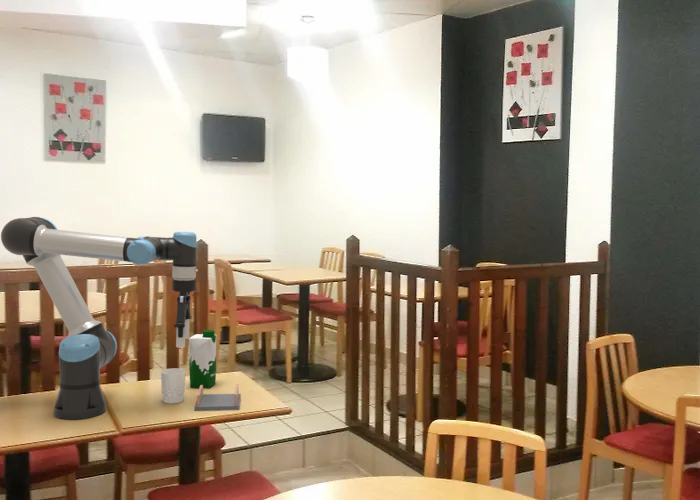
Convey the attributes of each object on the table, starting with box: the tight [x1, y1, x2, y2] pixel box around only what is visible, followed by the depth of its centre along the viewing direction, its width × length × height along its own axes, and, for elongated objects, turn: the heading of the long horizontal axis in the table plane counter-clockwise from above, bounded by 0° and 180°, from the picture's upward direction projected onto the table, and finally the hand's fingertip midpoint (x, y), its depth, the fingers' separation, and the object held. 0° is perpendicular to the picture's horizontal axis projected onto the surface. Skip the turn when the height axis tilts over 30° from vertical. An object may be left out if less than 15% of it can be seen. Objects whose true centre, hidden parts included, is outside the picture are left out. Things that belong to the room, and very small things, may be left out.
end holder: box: [193, 383, 242, 412], centre depth 223 cm, size 14×14×5 cm
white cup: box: [160, 367, 186, 404], centre depth 225 cm, size 8×8×10 cm
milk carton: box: [188, 329, 218, 389], centre depth 244 cm, size 9×9×20 cm
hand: (182, 342), depth 225 cm, fingers open, 13 cm apart
